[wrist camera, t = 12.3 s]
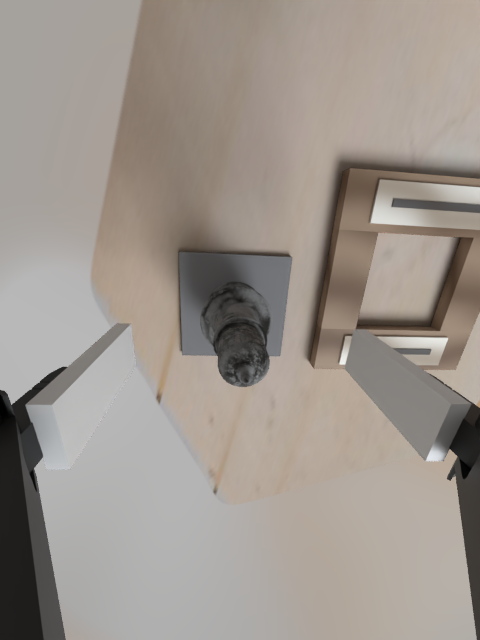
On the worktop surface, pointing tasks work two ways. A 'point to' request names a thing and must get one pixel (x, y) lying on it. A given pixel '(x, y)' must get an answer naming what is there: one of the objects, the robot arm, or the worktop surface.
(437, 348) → the label board
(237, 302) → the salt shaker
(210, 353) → the rubber mat
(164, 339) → the worktop surface
